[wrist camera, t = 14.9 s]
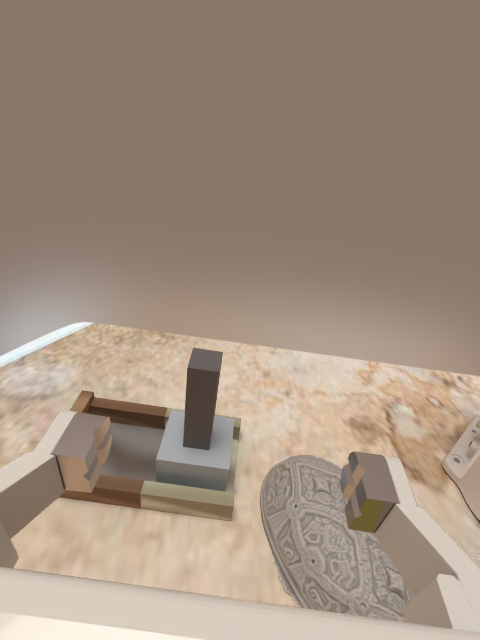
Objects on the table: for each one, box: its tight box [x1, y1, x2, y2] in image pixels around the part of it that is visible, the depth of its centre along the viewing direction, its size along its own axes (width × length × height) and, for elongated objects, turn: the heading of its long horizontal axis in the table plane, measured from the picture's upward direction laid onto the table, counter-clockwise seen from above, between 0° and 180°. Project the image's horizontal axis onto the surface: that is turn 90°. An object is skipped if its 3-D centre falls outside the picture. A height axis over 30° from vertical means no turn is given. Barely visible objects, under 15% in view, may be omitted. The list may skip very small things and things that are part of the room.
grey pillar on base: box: [156, 348, 234, 492], centre depth 39 cm, size 7×8×17 cm
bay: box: [59, 390, 241, 521], centre depth 42 cm, size 12×22×4 cm, turn 86°
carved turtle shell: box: [260, 455, 415, 622], centre depth 36 cm, size 16×25×7 cm, turn 28°
